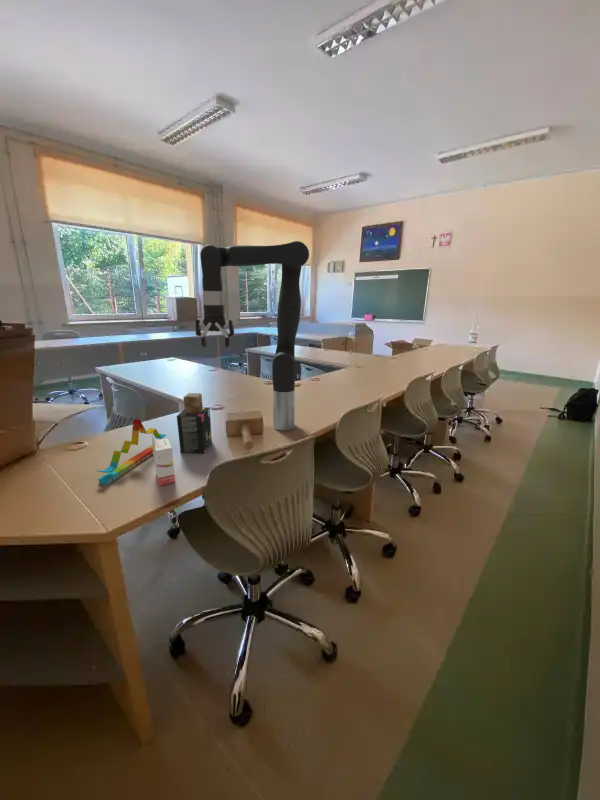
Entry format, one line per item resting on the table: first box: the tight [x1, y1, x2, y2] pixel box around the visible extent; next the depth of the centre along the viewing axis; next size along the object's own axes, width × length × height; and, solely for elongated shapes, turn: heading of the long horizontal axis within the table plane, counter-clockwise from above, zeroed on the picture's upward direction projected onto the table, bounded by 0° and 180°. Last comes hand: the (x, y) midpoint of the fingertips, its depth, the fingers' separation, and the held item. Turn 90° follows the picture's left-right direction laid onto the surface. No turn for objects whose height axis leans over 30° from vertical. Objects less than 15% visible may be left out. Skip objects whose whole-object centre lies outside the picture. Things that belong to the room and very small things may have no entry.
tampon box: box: [176, 407, 213, 454], centre depth 127 cm, size 11×9×15 cm
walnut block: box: [183, 392, 203, 413], centre depth 124 cm, size 5×5×6 cm
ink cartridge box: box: [151, 433, 176, 487], centre depth 105 cm, size 9×5×15 cm, turn 29°
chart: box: [96, 418, 167, 486], centre depth 115 cm, size 30×3×15 cm, turn 166°
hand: (215, 347), depth 132 cm, fingers open, 8 cm apart
